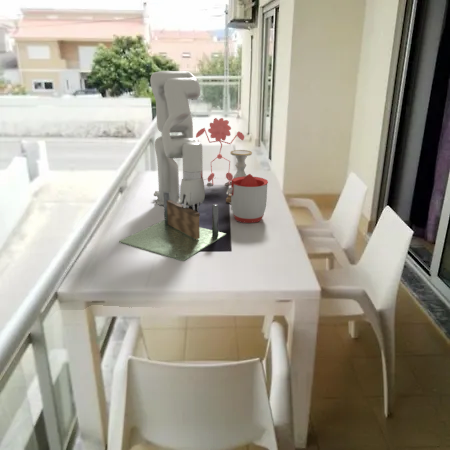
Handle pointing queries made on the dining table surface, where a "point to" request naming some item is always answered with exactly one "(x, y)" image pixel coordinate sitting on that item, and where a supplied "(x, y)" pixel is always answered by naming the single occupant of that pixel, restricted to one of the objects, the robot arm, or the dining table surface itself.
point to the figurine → (219, 139)
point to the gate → (183, 219)
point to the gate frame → (174, 237)
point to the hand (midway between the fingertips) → (193, 219)
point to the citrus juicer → (248, 198)
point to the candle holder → (239, 165)
